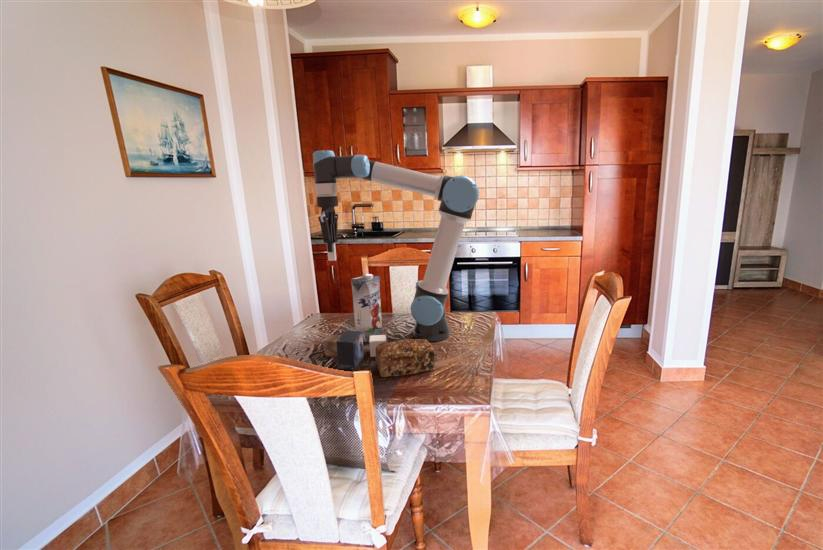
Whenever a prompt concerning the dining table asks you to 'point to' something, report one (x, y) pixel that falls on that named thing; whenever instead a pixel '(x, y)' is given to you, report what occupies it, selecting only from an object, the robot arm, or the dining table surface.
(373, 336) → the cream block
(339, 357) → the small box
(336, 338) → the walnut block
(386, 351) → the bread
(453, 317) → the dining table surface
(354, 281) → the juice carton
